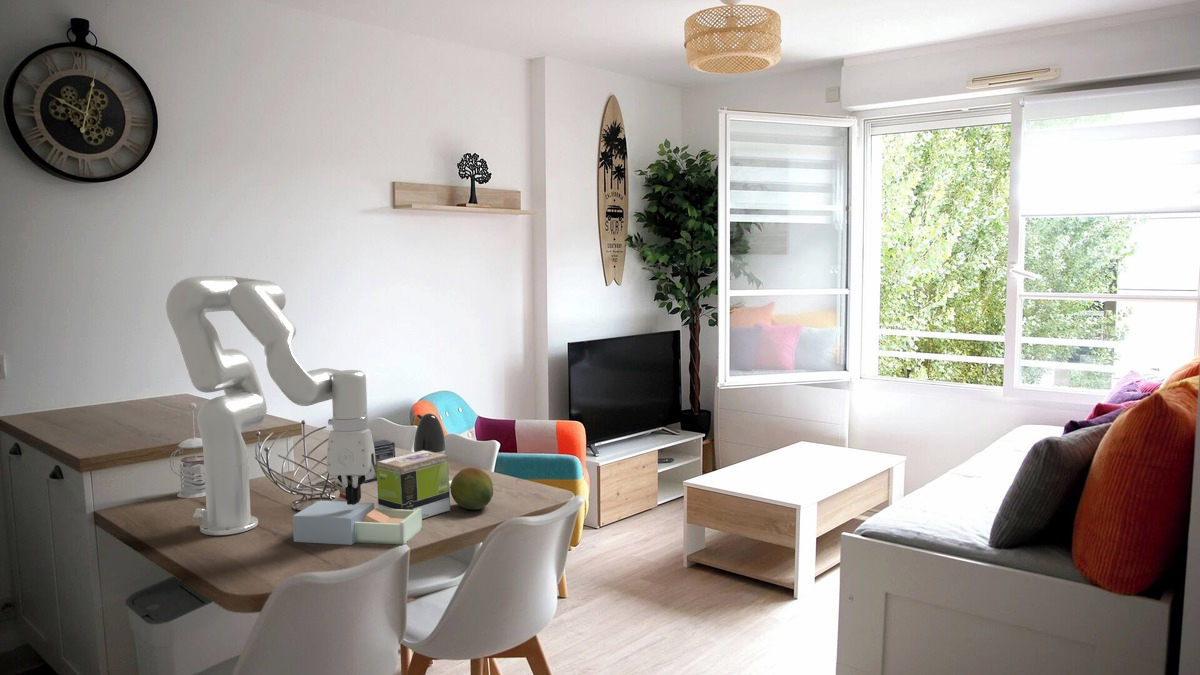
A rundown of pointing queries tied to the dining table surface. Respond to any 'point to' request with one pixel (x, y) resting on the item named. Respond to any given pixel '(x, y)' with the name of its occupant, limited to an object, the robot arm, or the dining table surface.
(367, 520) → the orange wooden cube
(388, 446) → the small box
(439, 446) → the black rounded cone
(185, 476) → the french press
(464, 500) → the fruit
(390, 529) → the bin
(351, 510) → the light blue drawer case
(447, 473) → the tea box
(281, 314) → the robot arm
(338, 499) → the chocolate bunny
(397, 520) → the peach orange cube
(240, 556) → the dining table surface
